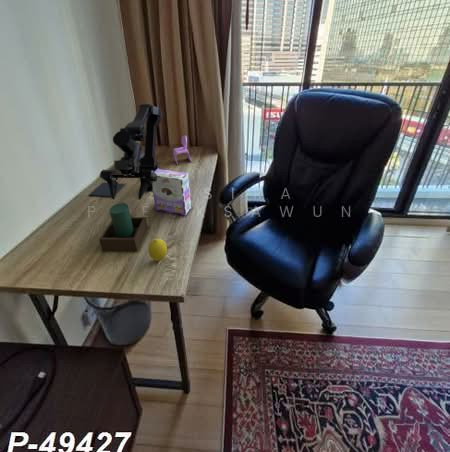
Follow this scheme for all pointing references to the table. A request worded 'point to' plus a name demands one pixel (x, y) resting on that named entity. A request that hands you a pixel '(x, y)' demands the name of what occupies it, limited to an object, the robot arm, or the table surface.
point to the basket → (124, 244)
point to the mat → (104, 190)
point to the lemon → (157, 249)
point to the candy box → (172, 192)
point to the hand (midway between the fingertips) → (126, 199)
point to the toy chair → (182, 149)
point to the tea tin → (122, 221)
